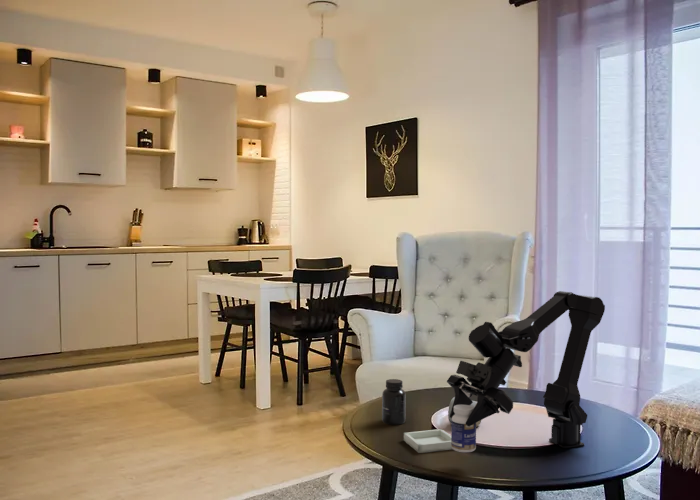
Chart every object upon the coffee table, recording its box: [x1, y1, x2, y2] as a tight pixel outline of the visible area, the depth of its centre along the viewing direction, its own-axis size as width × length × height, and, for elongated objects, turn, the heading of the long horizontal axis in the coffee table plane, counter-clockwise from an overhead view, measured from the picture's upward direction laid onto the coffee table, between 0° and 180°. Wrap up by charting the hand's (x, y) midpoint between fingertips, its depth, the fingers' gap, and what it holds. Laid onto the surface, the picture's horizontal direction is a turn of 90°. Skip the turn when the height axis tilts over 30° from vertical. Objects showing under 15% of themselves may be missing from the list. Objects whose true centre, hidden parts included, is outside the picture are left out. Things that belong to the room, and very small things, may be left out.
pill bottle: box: [450, 405, 477, 453], centre depth 147 cm, size 6×6×10 cm
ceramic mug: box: [447, 396, 482, 428], centre depth 180 cm, size 11×8×8 cm
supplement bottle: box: [381, 378, 407, 426], centre depth 182 cm, size 7×7×12 cm
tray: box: [403, 428, 453, 454], centre depth 162 cm, size 11×10×2 cm
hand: (458, 421), depth 146 cm, fingers closed on pill bottle, 6 cm apart
